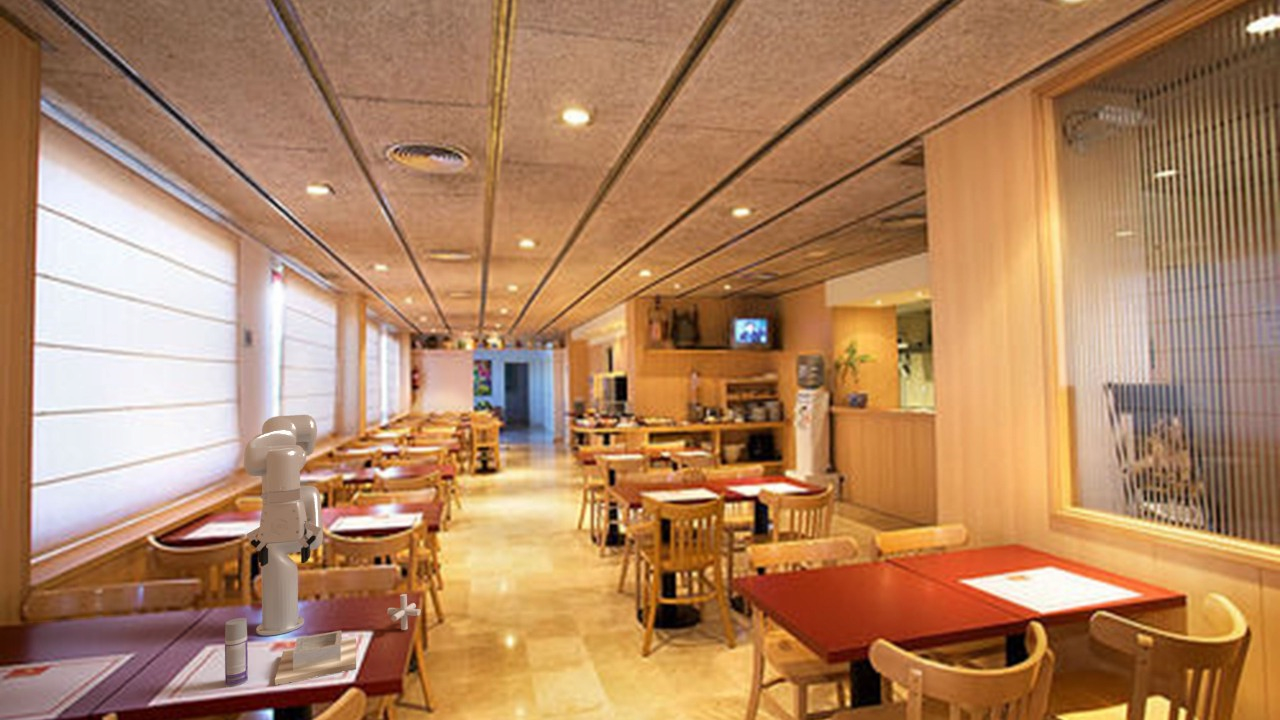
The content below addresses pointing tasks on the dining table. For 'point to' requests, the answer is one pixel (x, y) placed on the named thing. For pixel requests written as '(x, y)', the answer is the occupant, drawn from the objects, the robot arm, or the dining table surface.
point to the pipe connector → (403, 611)
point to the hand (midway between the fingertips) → (284, 563)
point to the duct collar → (317, 650)
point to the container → (236, 652)
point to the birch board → (290, 675)
